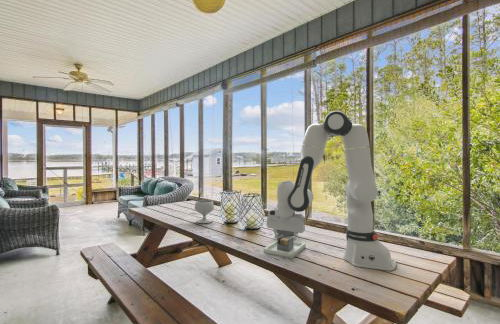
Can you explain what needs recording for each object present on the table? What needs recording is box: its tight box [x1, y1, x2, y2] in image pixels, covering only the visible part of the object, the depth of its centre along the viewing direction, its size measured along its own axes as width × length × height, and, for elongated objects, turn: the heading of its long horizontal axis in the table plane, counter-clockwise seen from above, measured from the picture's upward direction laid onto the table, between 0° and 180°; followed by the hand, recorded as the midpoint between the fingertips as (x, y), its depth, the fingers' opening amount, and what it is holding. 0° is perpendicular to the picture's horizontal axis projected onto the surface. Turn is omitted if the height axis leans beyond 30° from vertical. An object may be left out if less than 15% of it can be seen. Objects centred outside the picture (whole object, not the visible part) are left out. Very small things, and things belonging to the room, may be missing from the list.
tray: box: [263, 240, 306, 260], centre depth 143 cm, size 15×19×2 cm
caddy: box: [276, 235, 294, 252], centre depth 143 cm, size 6×6×6 cm
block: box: [280, 237, 289, 246], centre depth 143 cm, size 4×4×4 cm
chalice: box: [194, 199, 215, 224], centre depth 202 cm, size 14×14×15 cm
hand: (285, 238), depth 143 cm, fingers open, 8 cm apart
